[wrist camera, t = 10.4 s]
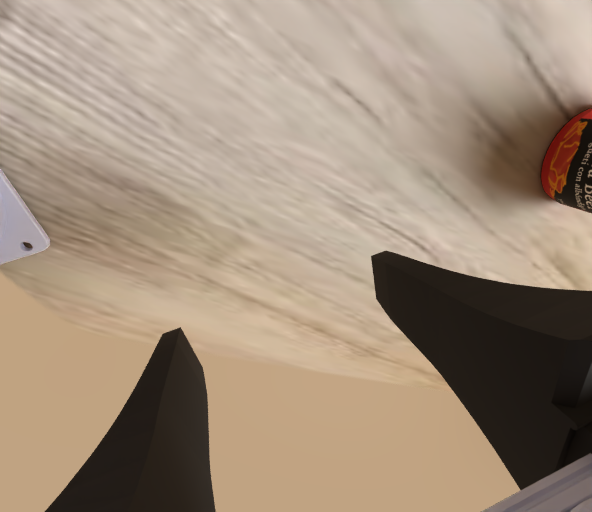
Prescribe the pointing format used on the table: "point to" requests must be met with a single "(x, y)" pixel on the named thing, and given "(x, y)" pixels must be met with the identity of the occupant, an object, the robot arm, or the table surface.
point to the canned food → (571, 164)
